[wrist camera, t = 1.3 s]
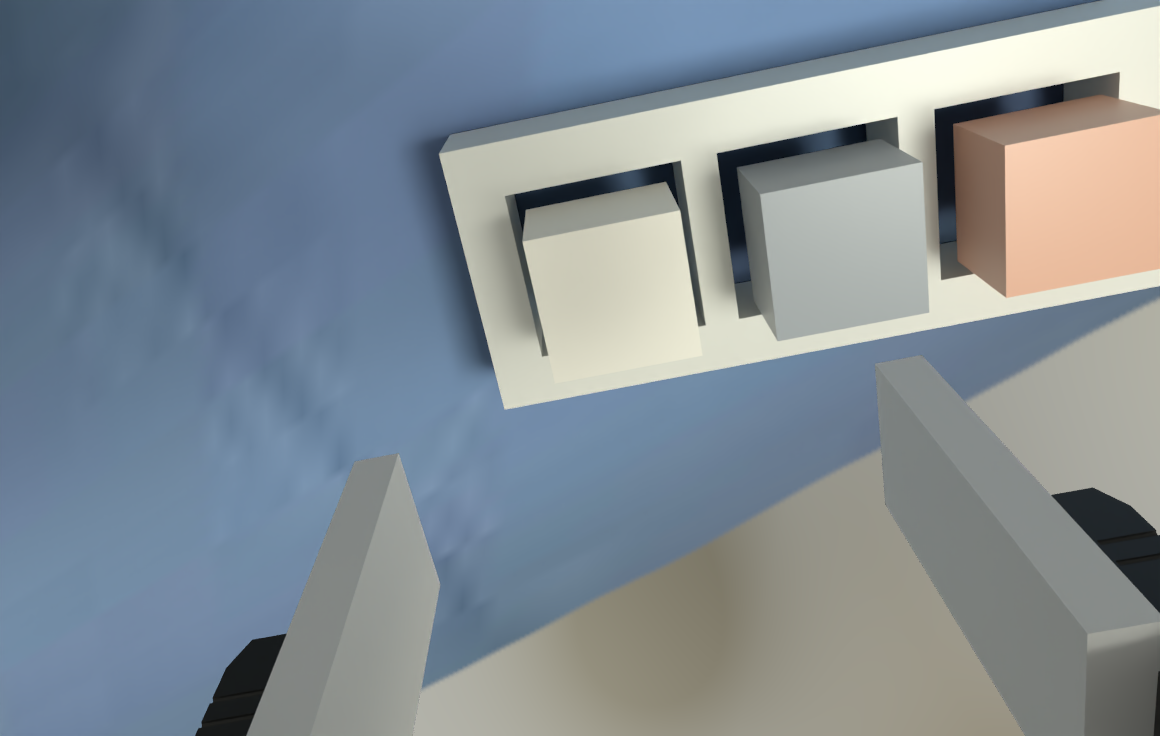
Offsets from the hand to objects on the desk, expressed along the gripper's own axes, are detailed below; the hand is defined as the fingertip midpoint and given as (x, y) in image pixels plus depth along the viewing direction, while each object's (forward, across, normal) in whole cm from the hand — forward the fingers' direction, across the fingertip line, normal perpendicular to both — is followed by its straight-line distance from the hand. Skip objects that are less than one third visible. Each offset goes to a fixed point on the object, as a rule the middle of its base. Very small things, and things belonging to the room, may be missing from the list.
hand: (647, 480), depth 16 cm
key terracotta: (+12, +12, 0) cm, 17 cm away
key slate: (+12, +6, 0) cm, 14 cm away
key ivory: (+12, 0, 0) cm, 12 cm away
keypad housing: (+15, +6, 0) cm, 16 cm away
